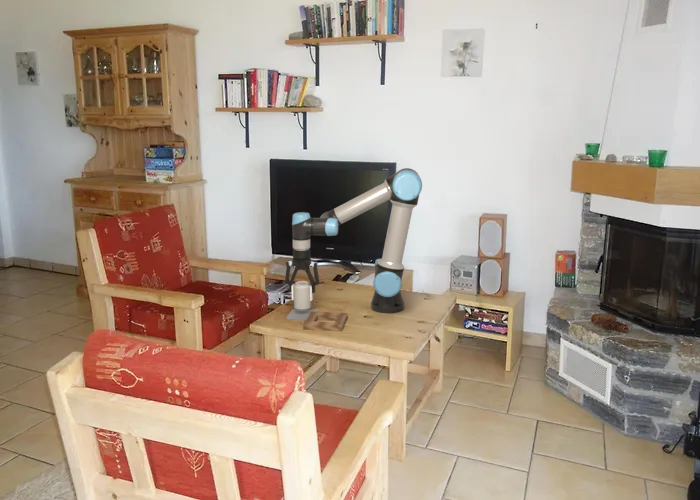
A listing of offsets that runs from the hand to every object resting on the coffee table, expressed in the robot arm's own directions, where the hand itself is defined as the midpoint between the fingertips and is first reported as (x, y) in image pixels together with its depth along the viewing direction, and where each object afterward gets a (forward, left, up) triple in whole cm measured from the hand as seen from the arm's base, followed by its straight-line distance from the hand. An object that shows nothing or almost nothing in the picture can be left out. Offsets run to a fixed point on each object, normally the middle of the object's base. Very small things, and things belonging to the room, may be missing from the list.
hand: (302, 299), depth 259 cm
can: (0, 0, -4) cm, 4 cm away
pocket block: (-12, +9, -7) cm, 17 cm away
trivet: (0, 0, -7) cm, 7 cm away
